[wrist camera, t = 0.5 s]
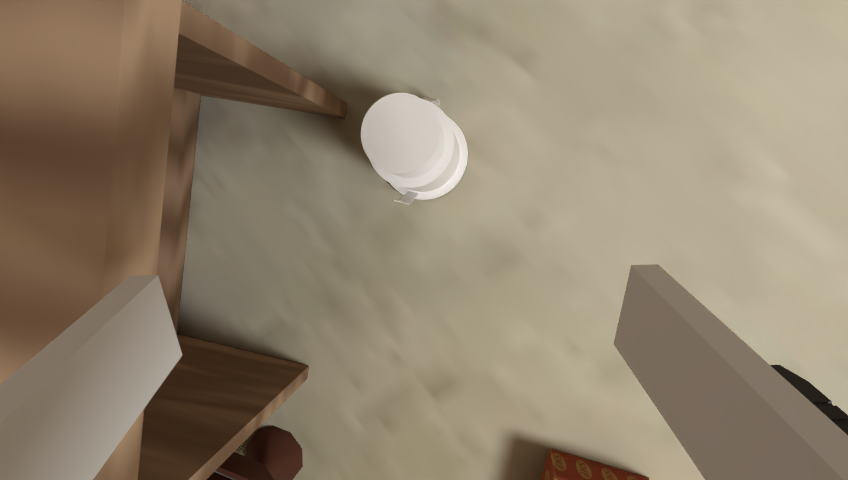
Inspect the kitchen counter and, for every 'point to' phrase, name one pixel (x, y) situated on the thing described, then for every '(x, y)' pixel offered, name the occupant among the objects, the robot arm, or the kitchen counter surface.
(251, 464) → the ice cream bowl
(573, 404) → the kitchen counter surface
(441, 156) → the downlight
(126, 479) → the counter shelf
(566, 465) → the carton
